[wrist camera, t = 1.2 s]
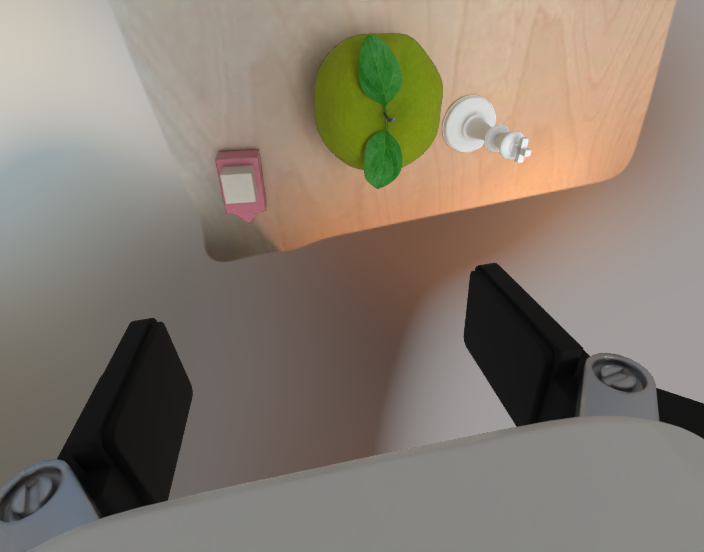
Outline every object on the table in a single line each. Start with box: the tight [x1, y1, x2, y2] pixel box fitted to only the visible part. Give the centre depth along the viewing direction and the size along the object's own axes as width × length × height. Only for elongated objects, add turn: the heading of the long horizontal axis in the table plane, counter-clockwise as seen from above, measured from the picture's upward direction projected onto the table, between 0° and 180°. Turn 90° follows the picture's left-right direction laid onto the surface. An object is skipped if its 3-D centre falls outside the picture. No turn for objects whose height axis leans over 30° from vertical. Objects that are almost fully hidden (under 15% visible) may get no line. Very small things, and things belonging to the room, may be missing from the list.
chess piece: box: [442, 95, 531, 163], centre depth 31 cm, size 5×5×10 cm
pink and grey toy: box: [215, 150, 266, 223], centre depth 32 cm, size 6×3×5 cm, turn 1°
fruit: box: [314, 33, 443, 189], centre depth 28 cm, size 9×9×10 cm
